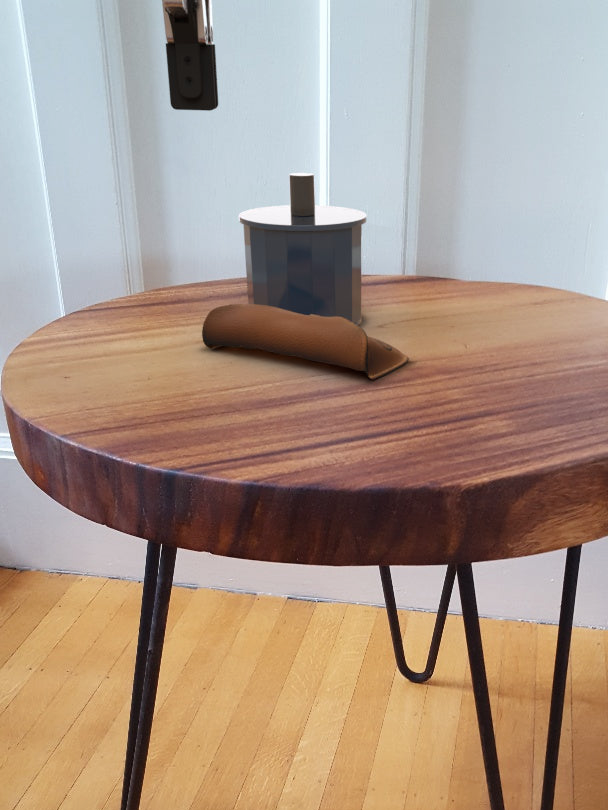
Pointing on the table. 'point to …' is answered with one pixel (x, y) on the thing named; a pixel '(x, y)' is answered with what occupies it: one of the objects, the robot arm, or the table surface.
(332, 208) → the pot lid
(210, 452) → the table surface
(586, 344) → the table surface
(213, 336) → the sunglasses case
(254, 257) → the pot
